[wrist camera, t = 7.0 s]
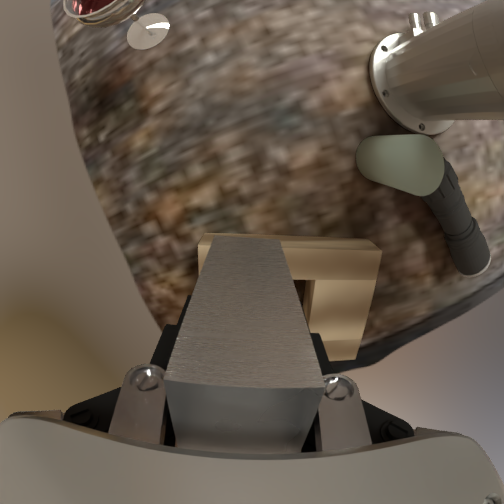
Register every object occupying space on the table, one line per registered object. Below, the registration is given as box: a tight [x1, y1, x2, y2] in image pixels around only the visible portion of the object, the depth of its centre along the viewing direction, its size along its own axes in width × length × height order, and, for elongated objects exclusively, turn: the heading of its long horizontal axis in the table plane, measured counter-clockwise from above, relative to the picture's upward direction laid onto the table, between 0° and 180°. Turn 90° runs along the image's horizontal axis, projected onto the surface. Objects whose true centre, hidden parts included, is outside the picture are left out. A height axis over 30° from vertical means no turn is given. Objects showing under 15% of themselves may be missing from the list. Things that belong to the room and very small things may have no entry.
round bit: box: [356, 134, 444, 196], centre depth 23 cm, size 5×5×9 cm
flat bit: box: [163, 235, 326, 454], centre depth 10 cm, size 6×3×9 cm, turn 176°
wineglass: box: [63, 0, 169, 50], centre depth 16 cm, size 7×7×12 cm
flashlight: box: [421, 157, 491, 278], centre depth 27 cm, size 15×5×5 cm, turn 44°
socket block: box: [198, 233, 382, 361], centre depth 31 cm, size 14×18×4 cm
